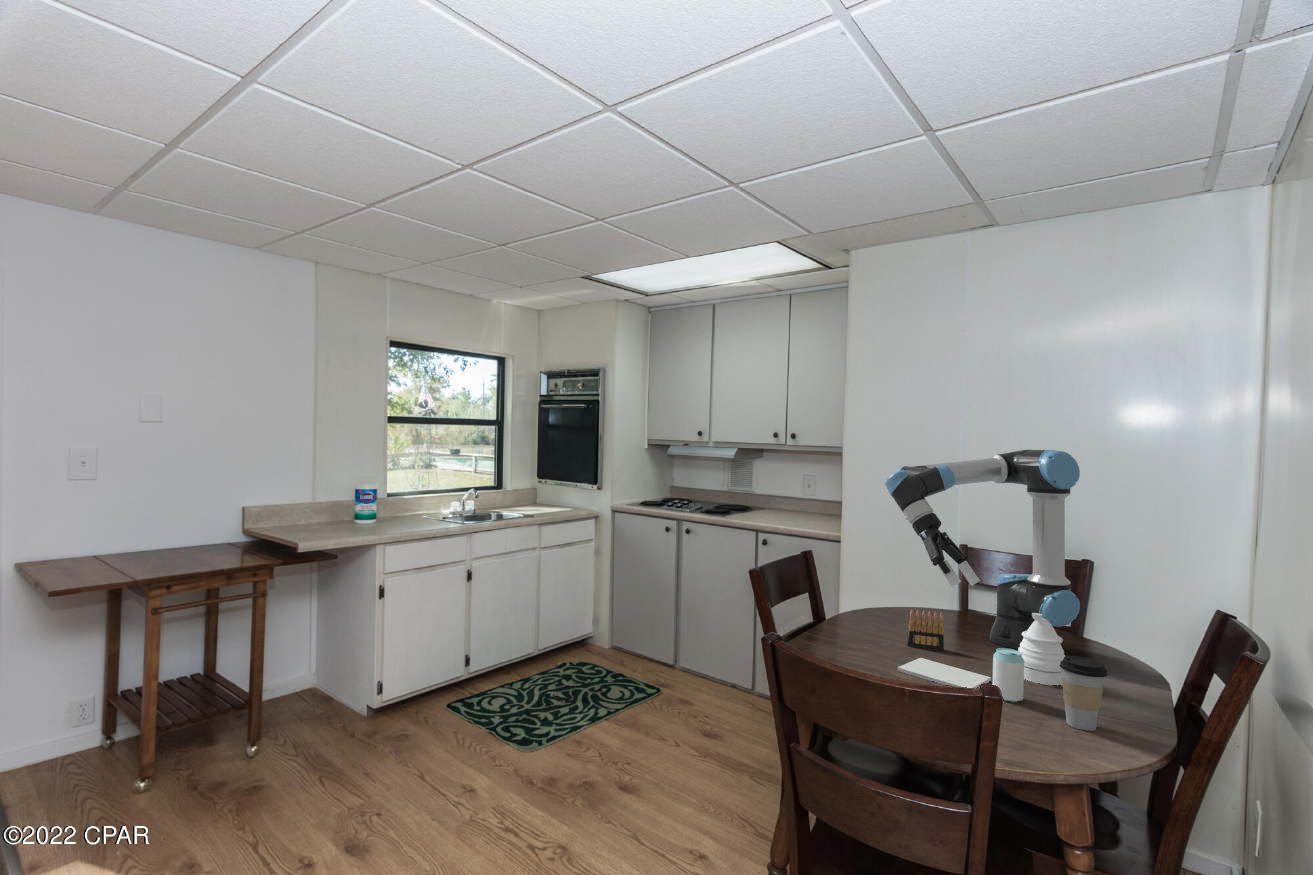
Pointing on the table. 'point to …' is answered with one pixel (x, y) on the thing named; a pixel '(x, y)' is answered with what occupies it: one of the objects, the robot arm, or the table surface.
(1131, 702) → the table surface
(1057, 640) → the honey pot
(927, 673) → the mat
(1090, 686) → the coffee cup
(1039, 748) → the table surface
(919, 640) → the ammunition clip
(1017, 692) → the can
